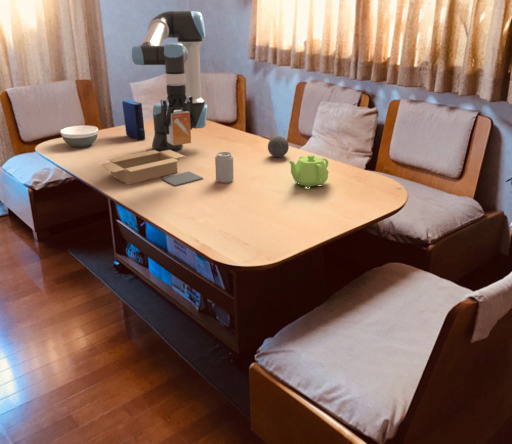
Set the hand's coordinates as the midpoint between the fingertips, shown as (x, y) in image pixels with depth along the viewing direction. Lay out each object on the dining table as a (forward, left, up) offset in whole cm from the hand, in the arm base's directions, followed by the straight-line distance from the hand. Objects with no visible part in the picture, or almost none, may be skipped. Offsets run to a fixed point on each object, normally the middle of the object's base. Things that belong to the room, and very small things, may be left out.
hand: (179, 139), depth 221 cm
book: (-16, -72, -18) cm, 76 cm away
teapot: (-37, +39, -18) cm, 57 cm away
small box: (0, 0, -2) cm, 2 cm away
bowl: (+12, -77, -18) cm, 80 cm away
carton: (+9, -16, -17) cm, 25 cm away
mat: (0, 0, -17) cm, 17 cm away
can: (-13, +13, -18) cm, 26 cm away
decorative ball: (-53, +2, -18) cm, 56 cm away
